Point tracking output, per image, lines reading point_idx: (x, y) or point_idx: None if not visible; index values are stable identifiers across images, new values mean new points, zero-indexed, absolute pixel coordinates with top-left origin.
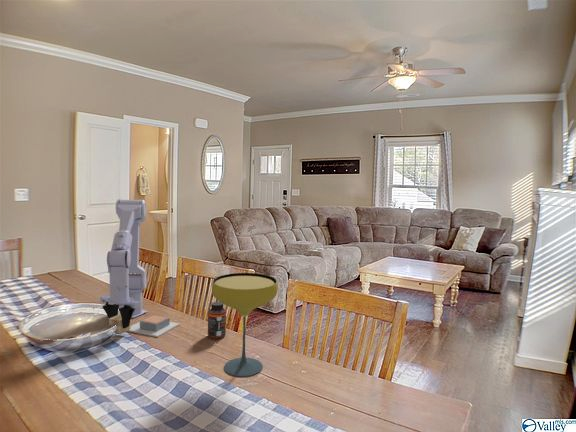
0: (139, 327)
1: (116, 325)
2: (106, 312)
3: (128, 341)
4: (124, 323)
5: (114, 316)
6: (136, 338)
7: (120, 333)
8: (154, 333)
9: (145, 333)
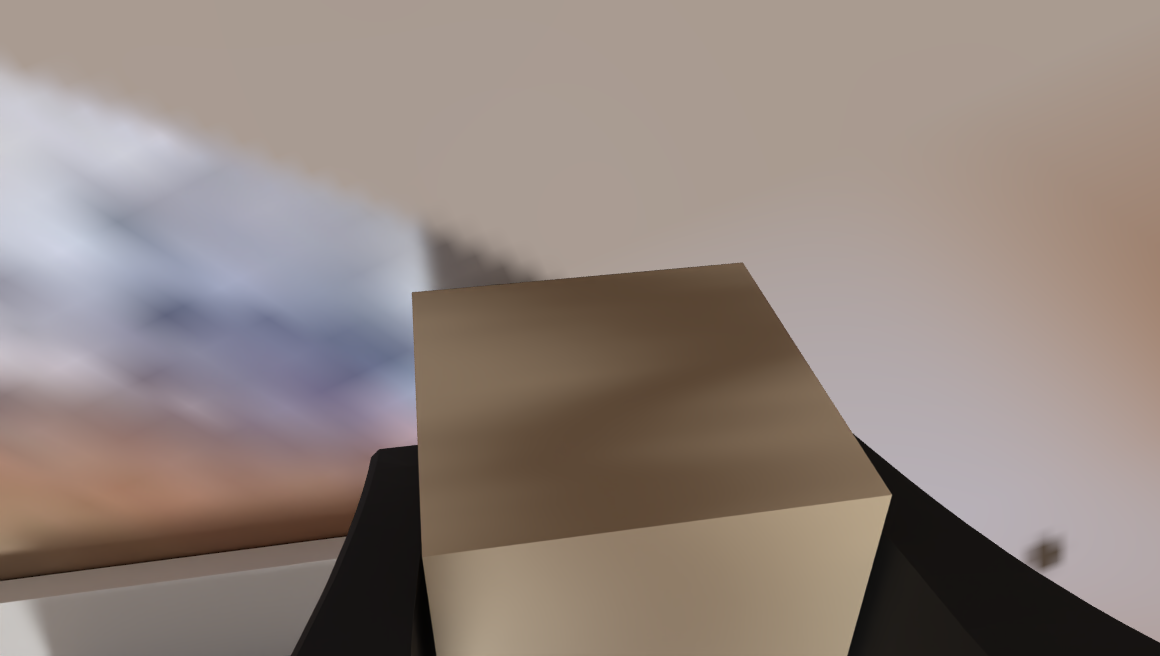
0: None
1: (552, 411)
2: (1128, 649)
3: (160, 243)
4: (344, 552)
5: (844, 639)
6: (164, 405)
7: (413, 311)
8: (20, 646)
9: (163, 580)
